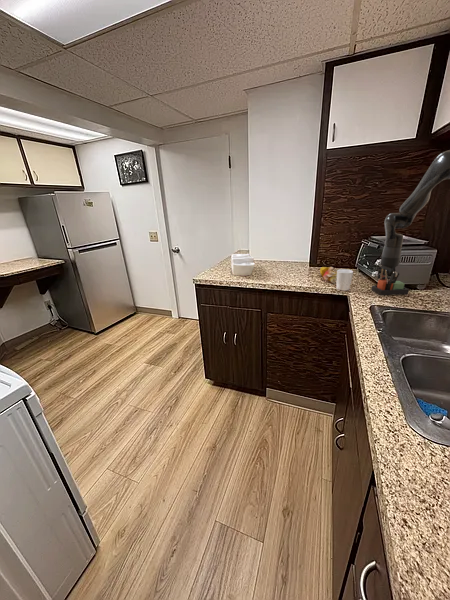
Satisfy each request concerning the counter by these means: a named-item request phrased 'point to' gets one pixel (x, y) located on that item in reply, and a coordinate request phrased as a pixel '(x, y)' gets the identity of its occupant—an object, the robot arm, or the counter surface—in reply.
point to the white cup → (344, 279)
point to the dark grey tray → (390, 291)
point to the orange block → (383, 284)
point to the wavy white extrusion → (242, 264)
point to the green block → (398, 285)
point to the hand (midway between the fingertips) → (384, 288)
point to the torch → (328, 274)
